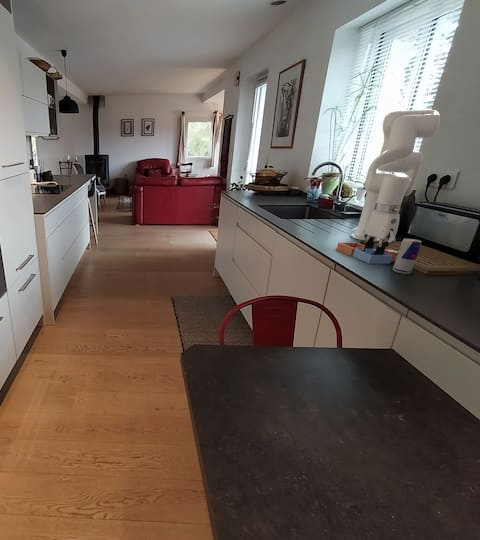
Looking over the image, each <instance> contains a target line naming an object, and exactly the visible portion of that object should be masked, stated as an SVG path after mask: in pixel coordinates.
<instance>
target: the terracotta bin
mask: <svg viewBox="0 0 480 540" xmlns="http://www.w3.org/2000/svg"><path fill="white" fill-rule="evenodd" d="M364 247H365V244H362V243H359V242H344V241H343V242H342V241H341V242H338V243H337V246H336V251H338V252H340V253H342V254H346V255H347V256H350V257H353V254H354V251H355V249H364Z"/></svg>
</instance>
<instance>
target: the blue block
mask: <svg viewBox="0 0 480 540" xmlns="http://www.w3.org/2000/svg"><path fill="white" fill-rule="evenodd" d="M375 251H376V247H375V248H374V247H373V248H365V253H368V254H371V255H374V254H375Z"/></svg>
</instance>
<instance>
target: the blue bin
mask: <svg viewBox="0 0 480 540" xmlns="http://www.w3.org/2000/svg"><path fill="white" fill-rule="evenodd" d="M363 250H364V249H355V251H354V254H353V256H352V258H355V259H358V260H359V261H362V262H364V263H367V264H369V265H370V264H371V265H372V264H375V265H376V264H377V265H379V264H380V265H381V264H383V265H384V264H388V265H389V264H391V263H392V262H391V259H392V256H393V255H390V254H387V253H384V254H383V255H371V254H368V253H365V252H364V251H363Z"/></svg>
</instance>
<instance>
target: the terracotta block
mask: <svg viewBox="0 0 480 540" xmlns="http://www.w3.org/2000/svg"><path fill="white" fill-rule="evenodd" d="M398 252H399V251H398V250H394V249H391V248H387V249H386V248H385V251H384V253H387V254H390V255H393V256H392V259H391V262H390V263H393V262H394V263H395V261H396V259H394V257H395V256H397V255H398Z"/></svg>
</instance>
